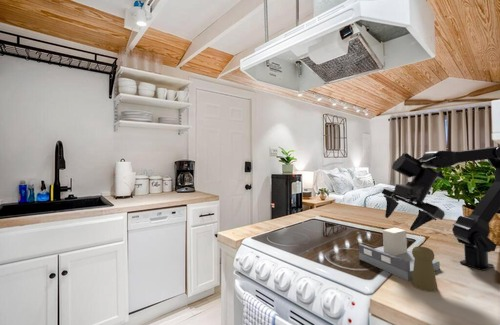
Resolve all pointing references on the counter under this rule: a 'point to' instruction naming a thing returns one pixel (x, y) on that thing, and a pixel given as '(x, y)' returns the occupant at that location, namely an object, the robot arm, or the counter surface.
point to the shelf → (391, 261)
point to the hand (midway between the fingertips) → (397, 223)
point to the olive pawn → (424, 269)
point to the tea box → (394, 241)
